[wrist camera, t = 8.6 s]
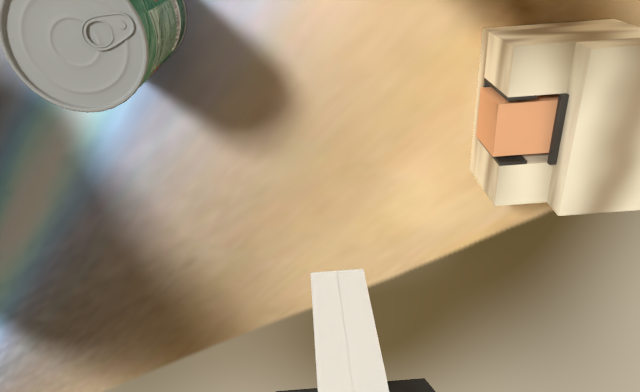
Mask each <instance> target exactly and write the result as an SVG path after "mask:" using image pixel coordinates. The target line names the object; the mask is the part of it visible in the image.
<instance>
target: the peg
mask: <svg viewBox="0 0 640 392" xmlns="http://www.w3.org/2000/svg"><path fill="white" fill-rule="evenodd" d="M558 98H559V94H548V95H537V99H527V100H514V101H507V100H506V99H505V98H504V97H502V96H501V95H500V94H499V93H498V92H497V91H495V90H494V89H493V88H492V87H482V88H481V89H480V99H479V110H478V120H477V130H476V137H477V138H478V139H479V141H480V142H481V143H482V144H483V145H484V147H485V148H486V149H487V150H488V152H489V153H490V154H491V155H492V156H493V157H497V156H510V155H524V154H538V153H549V149H550V143H551V137H552V132H553V126H554V120H555V115H556V109H557V103H558Z"/></svg>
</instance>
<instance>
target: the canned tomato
mask: <svg viewBox="0 0 640 392" xmlns="http://www.w3.org/2000/svg"><path fill="white" fill-rule="evenodd" d="M186 26H187V12H186V6H185V2H184V0H0V44H1V47H2V50H3V52H4V55H5V57H6V59H7V60H8V62H9V64H10V66H11V67H12V69H13V70H14V72H15V73H16V74H17V75H18V76H19V78H20V79H21V80H22V81H23V82H24V83H25V84H26V85H27V86H28V87H29V88H30V89H31V90H32V91H34V92H35V93H36V94H38V95H39V96H41V97H42V98H44V99H45V100H47V101H49V102H51V103H53V104H55V105H57V106H60V107H62V108H66V109H69V110H73V111H80V112H100V111H104V110H108V109H112V108H114V107H116V106H118V105H120V104H122V103H124V102H125V101H127V100H128V99H129V98H130V97H131V96H132V95H133V94H134V93H135V92H136V91H137V89H138V88H139V87H140V86H141V85H142V84H143V83H144V82H145V81H146V80H147V79H148V78H149V77H150V76H151V75H152V74H153V73H154V72H155V71H156V70H157V69H158V68H159V67H160V66H161V65H162V64H163V63H164V62H165V61H166V60H167V59H168V58H169V57H170V56H171V55H172V54H173V53H174V52H175V51H176V50H177V48H178V47H179V45H180V44H181V42H182V40H183V37H184V35H185V31H186Z"/></svg>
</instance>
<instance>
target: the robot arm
mask: <svg viewBox="0 0 640 392" xmlns="http://www.w3.org/2000/svg"><path fill="white" fill-rule="evenodd" d="M311 287H312V303H313V320H314V335H315V351H316V352H315V353H316V368H317V369H316V370H317V386H318V388H314V389H301V390H288V391H277V392H435V391H434V389H433V388H432V387H431V386H430V385H429V383H428V382H427V381H426V380H425V379H424V378H423V379H410V380H399V381H387V378H386V374H385V369H384V365H383V360H382V356H381V350H380V346H379V341H378V336H377V331H376V327H375V322H374V317H373V313H372V308H371V304H370V299H369V294H368V289H367V284H366V280H365V275H364V270H363V269H354V270H341V271H328V272H314V273H311Z"/></svg>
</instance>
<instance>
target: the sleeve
mask: <svg viewBox="0 0 640 392" xmlns="http://www.w3.org/2000/svg"><path fill="white" fill-rule="evenodd" d="M482 87H492V88H493V89H494V90H495V91H497V92H498V93H499V94H500V95H501V96H502V97H504V98H505V99H506V100H507V101H514V100H527V99H537V95H548V94H559V98H558V103H557V109H556V115H555V120H554V126H553V132H552V137H551V143H550V149H549V153H538V154H524V155H510V156H497V157H493V156H492V155H491V154H490V153H489V152H488V150H487V149H486V148H485V147H484V145H483V144H482V143H481V142H480V141H479V139H478V138H477V137H476V130H477V120H478V110H479V99H480V89H481V88H482ZM470 171H471V172H472V174H473V175H474V177H475V178H476V180H477V181H478V183H479V184H480V186H481V187H482V188H483V190H484V191H485V193H486V194H487V196H488V197H489V199H490V200H491V202H492V203H493V205H494V206H502V205H516V204H530V203H544V202H547V203H548V205H549V206H550V207H551V208H552V209H553V210H554V211H555V213H556V214H557V215H558V216H563V215H576V214H590V213H604V212H619V211H632V210H640V27H639V26H636V25H633V24H629V23H626V22H623V21H620V20H616V19H603V20H589V21H575V22H561V23H548V24H534V25H520V26H506V27H492V28H483V30H482V41H481V52H480V63H479V74H478V84H477V95H476V106H475V117H474V128H473V138H472V149H471V160H470Z"/></svg>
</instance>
